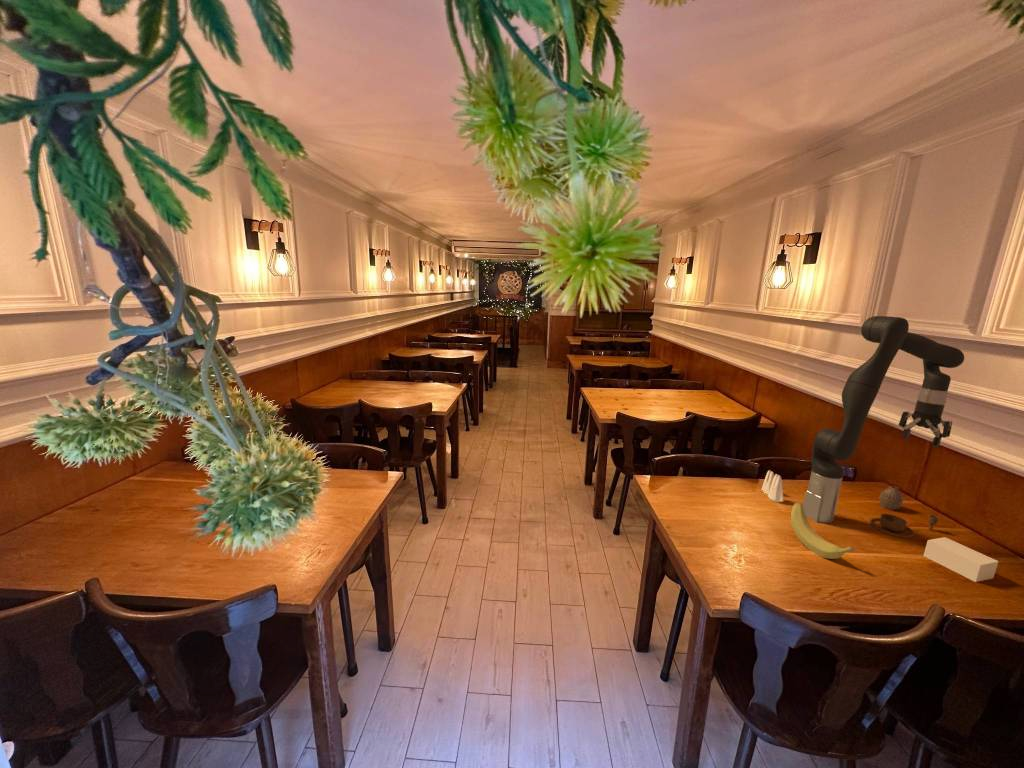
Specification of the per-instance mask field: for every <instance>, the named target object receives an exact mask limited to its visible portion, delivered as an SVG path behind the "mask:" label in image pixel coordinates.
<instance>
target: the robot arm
mask: <svg viewBox="0 0 1024 768" xmlns="http://www.w3.org/2000/svg"><path fill="white" fill-rule="evenodd" d="M909 326H910V325H909V322H908V320H907V319H906V318H904V317H899V316H889V315H887V316H886V315H885V316H884V315H875V316H871V317H868V318H867V319H865V321H864V322H863V323H862V326H861V329H860V331H861V336H862V337H863V339H865V340H866V341H868V342H870V343H875V344H878V346H877V347H876V350H875V352H873V355H872V356H871V357H870V358H868V360H866V361H865V362H863V363H862V364H861V365H860V366H859V367H857V368H856V369H855V370H853V372H851V373H850V375H849V376H848V377H847V379H846V381H845V385H844V387H843V389H842V391H841V402H842V407H843V413H844V422H843V425H842V428H841V430H840V431H837V430H835V429H832V428H822V429H821V430H819V431H818V433H817V434H816V435H815V436H814V440H813V445H812V453H811V460H810V461H811V472H810V476H809V477H810V478H809V481H808V487H807V490H806V491H805V493H804V497H803V503H802V506H803V508H804V511H805V515H806V518H807V519H810V520H812V521H814V522H815V523H823V524H831V523H833V522H834V517H835V514H836V509H837V505H838V500H839V496H840V492H841V487H842V481H843V479H844V474H845V470H844V468H843V467H842V466H841V465H840V464H839V463H838V460H839V461H840V462H841V461H842V462H843V461H844V462H845V461H848V460H849V459H850V458H851V457H853V455H854V453H855V452H856V449H857V447H858V444H859V441H860V438H861V434H862V431H863V427H864V425H865V422H866V420H867V417H868V415H869V412H870V410H871V408H872V405H873V404H874V402H875V400H876V397H877V395H878V393H879V391H880V388H881V387H882V384H883V380H884V378H885V377H886V374H887V373H888V370H889V368H890V366H891V364H892V362H893V360H894V359H895V357H896V355H897V353H898V352H899V350H900V351H902V352H905V353H907V354H909V355H911V356H913V357H915V358H918V359H920V360H922V365H923V381H922V384H921V388H920V390H919V392H918V396H917V400H916V403H915V407H914V412H913V413H912V412H910V411H907V410H906V411H902V414H901V417H900V420H899V423H898V426H899V427H900V428H902V429H903V433H902V438H903V440H908V439H909V438H910V435H911V431H912V430H911V429H912V428H914V427H916V426H917V427H920V428H925V429H927V430H929V429H930V431H931V432H932V433H933V435H934V437H933V440H932V443H931V447H933V448H936V447H939V446H940V444H941V440H942V438H944V439H945V438H949V437H950V436H951V431H952V427H953V421H952V420H944V419H942V415H943V413H944V409H945V405H946V403H947V398H948V391H949V388H950V384H951V380H952V378H951V376H950V375H949V374H947V373H944V372H942V371H941V369H940V367H941V368H945V369H955V368H957V367H959V366H961V365H962V364H963V363H964V361H965V355H964V352H963V351H962V350H960V349H959V348H957V347H954V346H950V345H947V344H942V343H940V342H937V341H935V340H933V339H931V338H929V337H926V336H923V335H920V334H917V333H912V332H909V328H910V327H909ZM910 417H911V418H912V421H911V422H909V423H908V424H907V422H908V420H909V418H910ZM940 424H941V426H942V427H943V429H942V432H941V428H940V427H939V425H940ZM836 460H837V461H836Z"/></svg>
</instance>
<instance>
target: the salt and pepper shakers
mask: <svg viewBox="0 0 1024 768" xmlns="http://www.w3.org/2000/svg"><path fill="white" fill-rule="evenodd" d="M783 486H784V485H783V480H782V476H781V475H779V474H777V473H776V474H775V473H774V472H773V471H771V470H770V469H769V470H768V471H767V472H766V475H765V478H764V481H763V484H762V486H761V491H762V490H763V491H762V493H763V492H764V493H763V494H765V493H766V494H765V495H767V494H768V495H767V497H768V499H769V500H770V501H772V502H774V503H782V502H784V491H783Z"/></svg>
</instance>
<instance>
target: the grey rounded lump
mask: <svg viewBox="0 0 1024 768" xmlns="http://www.w3.org/2000/svg"><path fill="white" fill-rule="evenodd" d="M878 500H879V503H880V505H881V507H883V508H884V509H887V510H890V511H896V510H898V509H901V506H903V502H904V498H903V495H902V494H901V491H900V489H899V487H898V486H897V487H896V486H894V485H890V486H888V488H886V489H884V490H883V491H881V493H880V495H879V499H878Z"/></svg>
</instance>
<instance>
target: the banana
mask: <svg viewBox="0 0 1024 768" xmlns="http://www.w3.org/2000/svg"><path fill="white" fill-rule="evenodd" d="M790 520H791V521H790V522H791V523H790V524H791V526H792V529H793V531H794V534H795V535H796V536H797V539H798V540H799V541H800V542H801V544H802V545H803V546H805V548H807V549H808V550H810V552H813V553H814V554H815V555H817V556H819V557H822V558H825V559H831V560H835V559H841V558H842V557H843V556H844V554H846V553H849V552H853V553H854V552H856V548H855V547H854V546H852V545H849V546H848V547H845V548H844V547H843V548H841V547H840V546H838V545H836V544H834V543H831V542H830V541H828V540H826V539H824V538H823V537H821V536H820V535H819V534H817V532H816V531H815V530H814V529H813V528H812V526H811V524H810V522H809V520H808V517H806V515H805V511H804V508H803V503H802V502H795V503H794V504H793V506H792V508H791V514H790Z"/></svg>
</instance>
